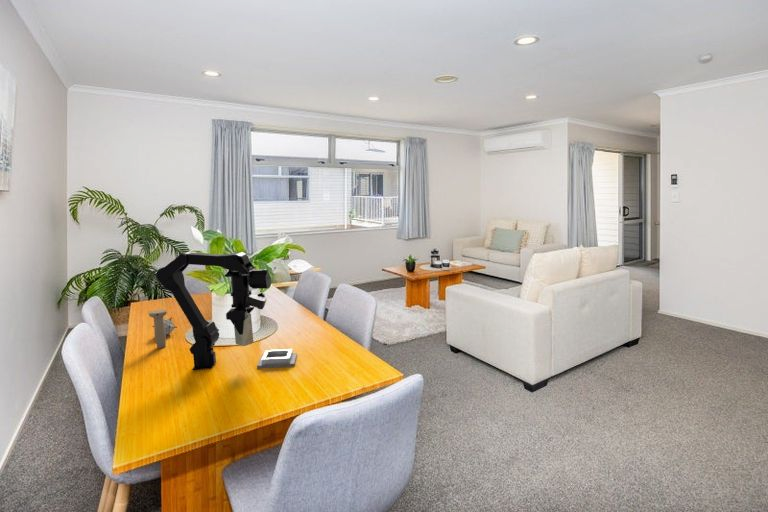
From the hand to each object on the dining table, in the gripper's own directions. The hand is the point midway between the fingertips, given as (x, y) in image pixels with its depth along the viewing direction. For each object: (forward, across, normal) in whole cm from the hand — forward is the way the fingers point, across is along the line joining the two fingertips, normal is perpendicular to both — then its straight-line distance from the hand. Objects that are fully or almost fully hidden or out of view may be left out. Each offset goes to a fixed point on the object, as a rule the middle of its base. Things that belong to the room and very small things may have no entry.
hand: (243, 331), depth 151 cm
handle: (+13, +24, +39) cm, 48 cm away
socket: (+13, +2, -11) cm, 17 cm away
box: (+5, 0, 0) cm, 5 cm away
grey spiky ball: (+13, +39, +43) cm, 60 cm away
